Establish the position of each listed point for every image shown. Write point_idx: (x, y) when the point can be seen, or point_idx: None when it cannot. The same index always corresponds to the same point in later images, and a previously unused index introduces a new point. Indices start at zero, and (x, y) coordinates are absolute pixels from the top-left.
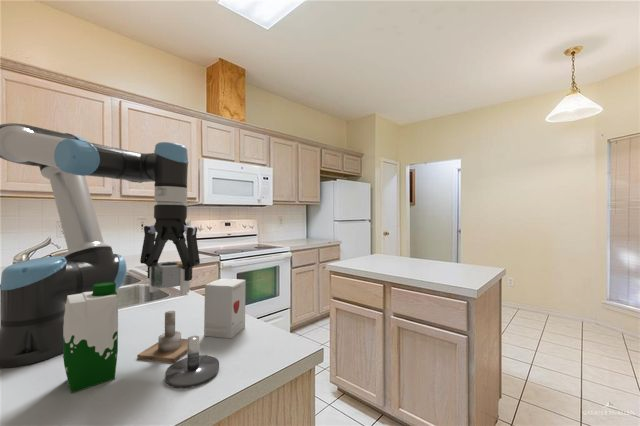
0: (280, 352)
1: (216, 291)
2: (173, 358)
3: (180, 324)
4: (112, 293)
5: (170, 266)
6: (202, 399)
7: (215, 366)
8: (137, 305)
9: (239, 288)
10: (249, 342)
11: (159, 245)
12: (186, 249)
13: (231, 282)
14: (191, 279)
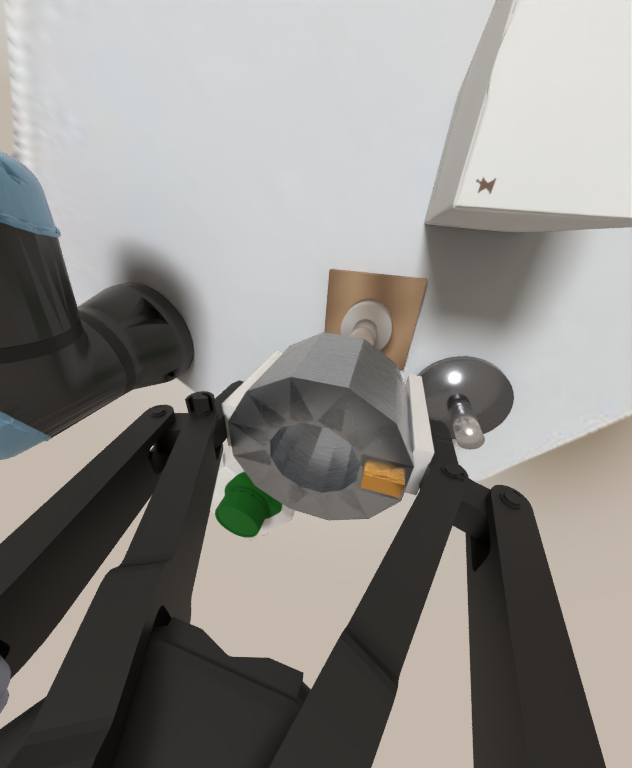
0: None
1: (529, 220)
2: (401, 368)
3: (303, 131)
4: (269, 508)
5: (353, 509)
6: (493, 456)
7: (506, 401)
8: None
9: None
10: (600, 251)
11: (192, 570)
12: (426, 591)
13: None
14: (443, 422)
